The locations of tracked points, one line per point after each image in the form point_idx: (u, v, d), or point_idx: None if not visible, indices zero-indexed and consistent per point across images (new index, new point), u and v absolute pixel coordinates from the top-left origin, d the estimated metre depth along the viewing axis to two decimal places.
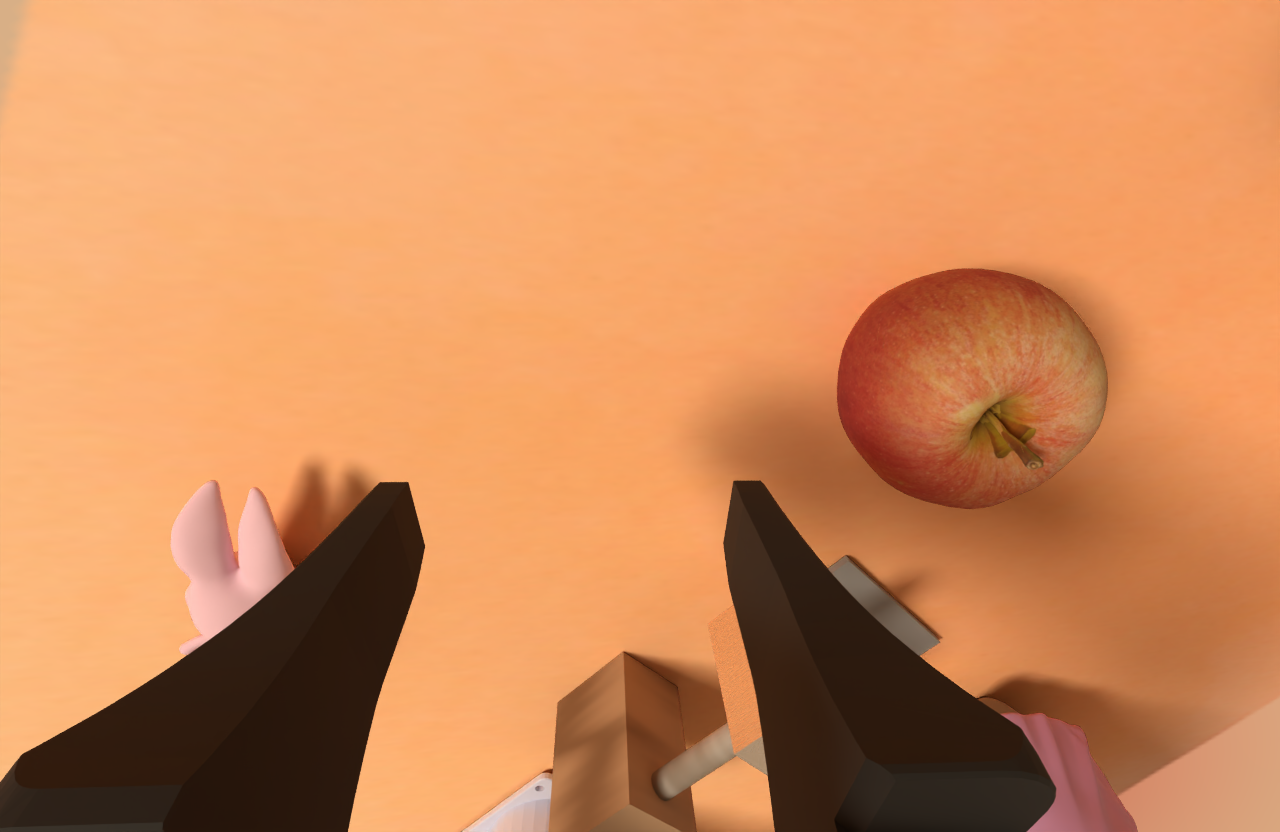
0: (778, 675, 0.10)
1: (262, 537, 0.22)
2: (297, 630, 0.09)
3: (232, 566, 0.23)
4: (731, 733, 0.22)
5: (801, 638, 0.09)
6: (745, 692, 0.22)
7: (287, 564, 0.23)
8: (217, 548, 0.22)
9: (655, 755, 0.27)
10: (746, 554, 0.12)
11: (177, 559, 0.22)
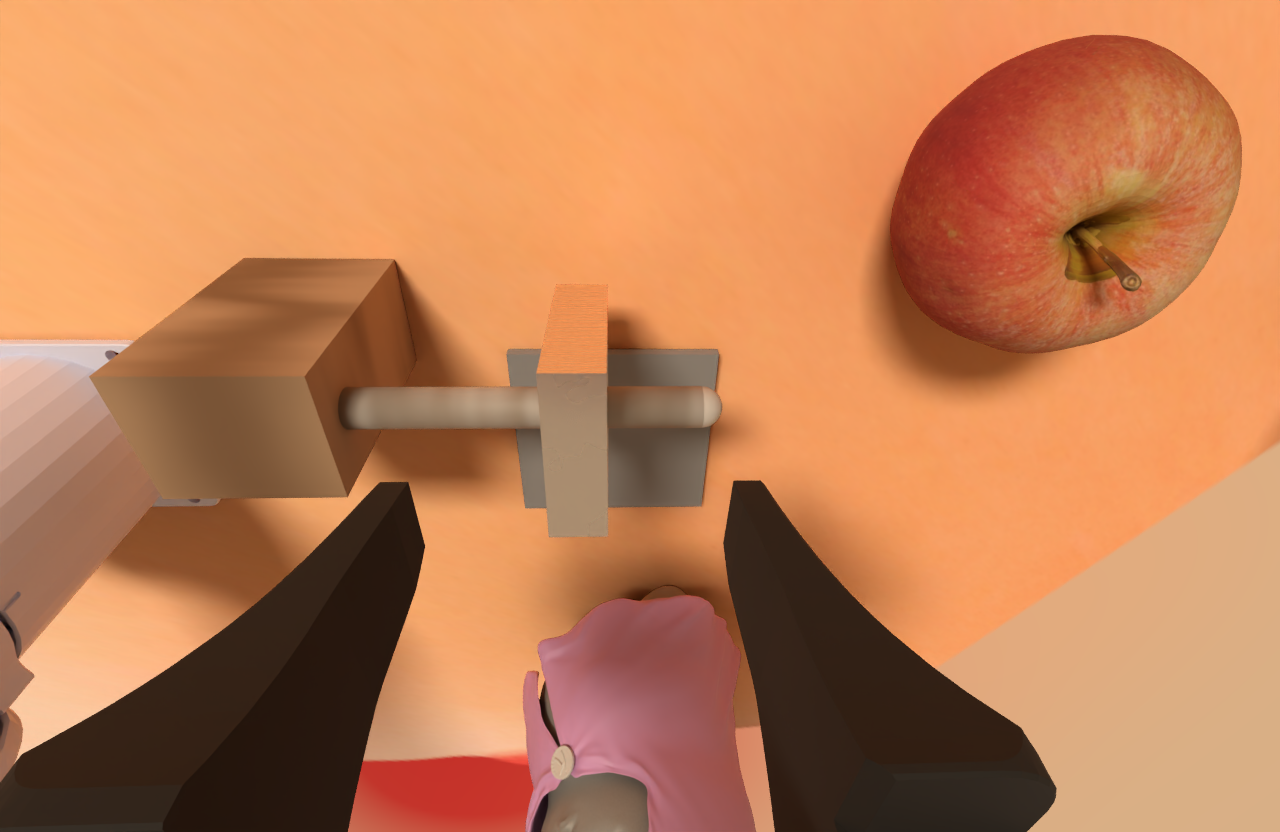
0: (778, 675, 0.10)
1: None
2: (297, 630, 0.09)
3: None
4: (540, 360, 0.14)
5: (801, 638, 0.09)
6: (585, 339, 0.15)
7: None
8: None
9: (361, 377, 0.18)
10: (746, 554, 0.12)
11: None
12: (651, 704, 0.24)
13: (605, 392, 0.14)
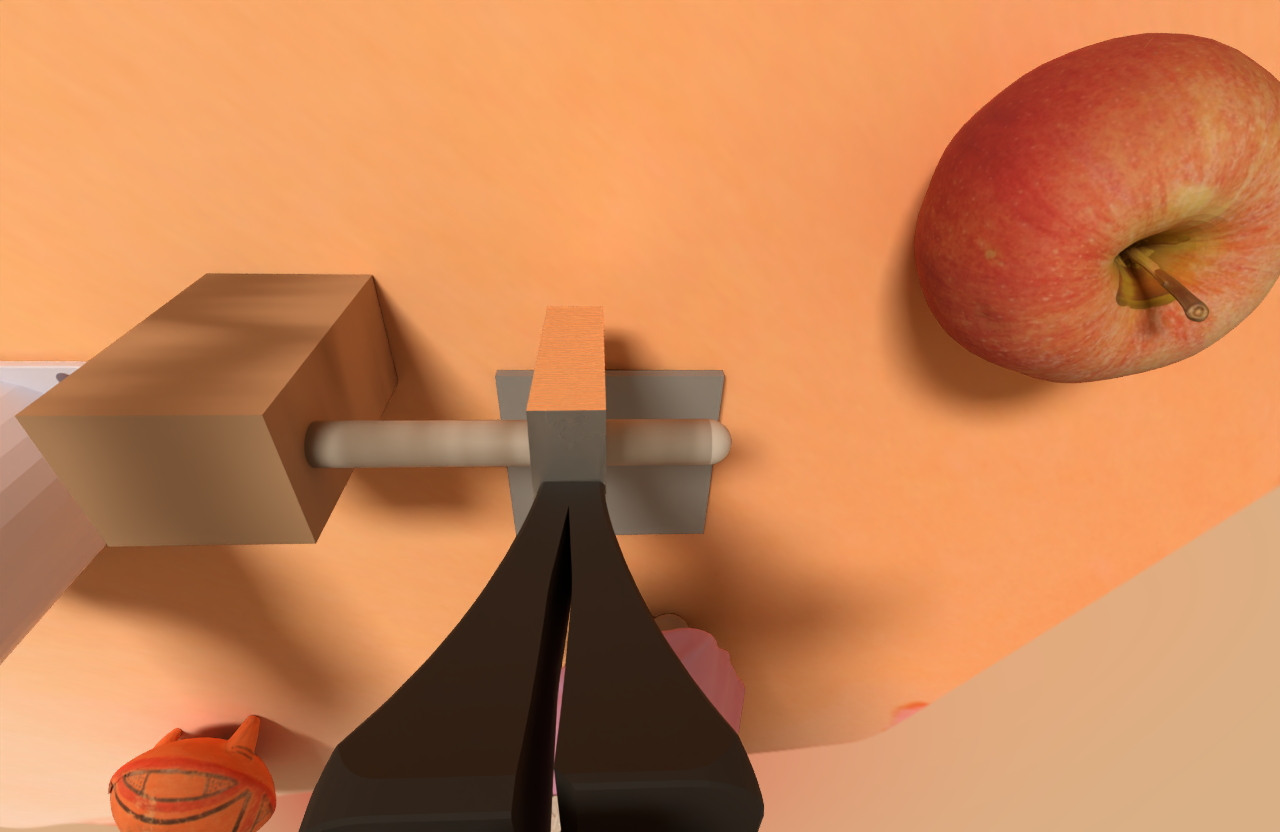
0: None
1: None
2: (530, 626, 0.09)
3: None
4: (530, 394, 0.13)
5: None
6: (580, 369, 0.14)
7: None
8: None
9: (332, 408, 0.16)
10: None
11: None
12: None
13: (604, 431, 0.12)
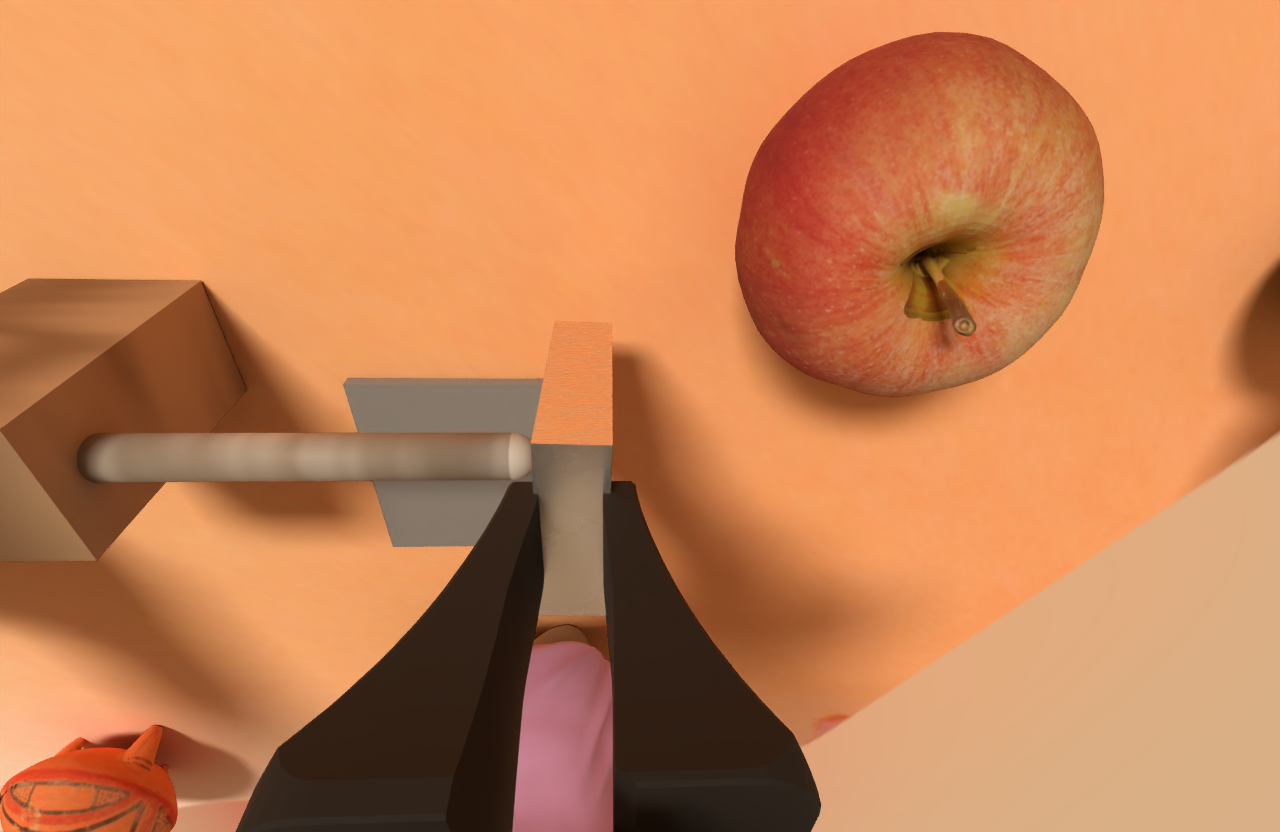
0: None
1: None
2: (486, 627, 0.09)
3: None
4: (535, 423, 0.12)
5: (613, 641, 0.09)
6: (587, 396, 0.13)
7: None
8: None
9: (127, 419, 0.16)
10: (605, 555, 0.12)
11: None
12: None
13: (610, 465, 0.12)
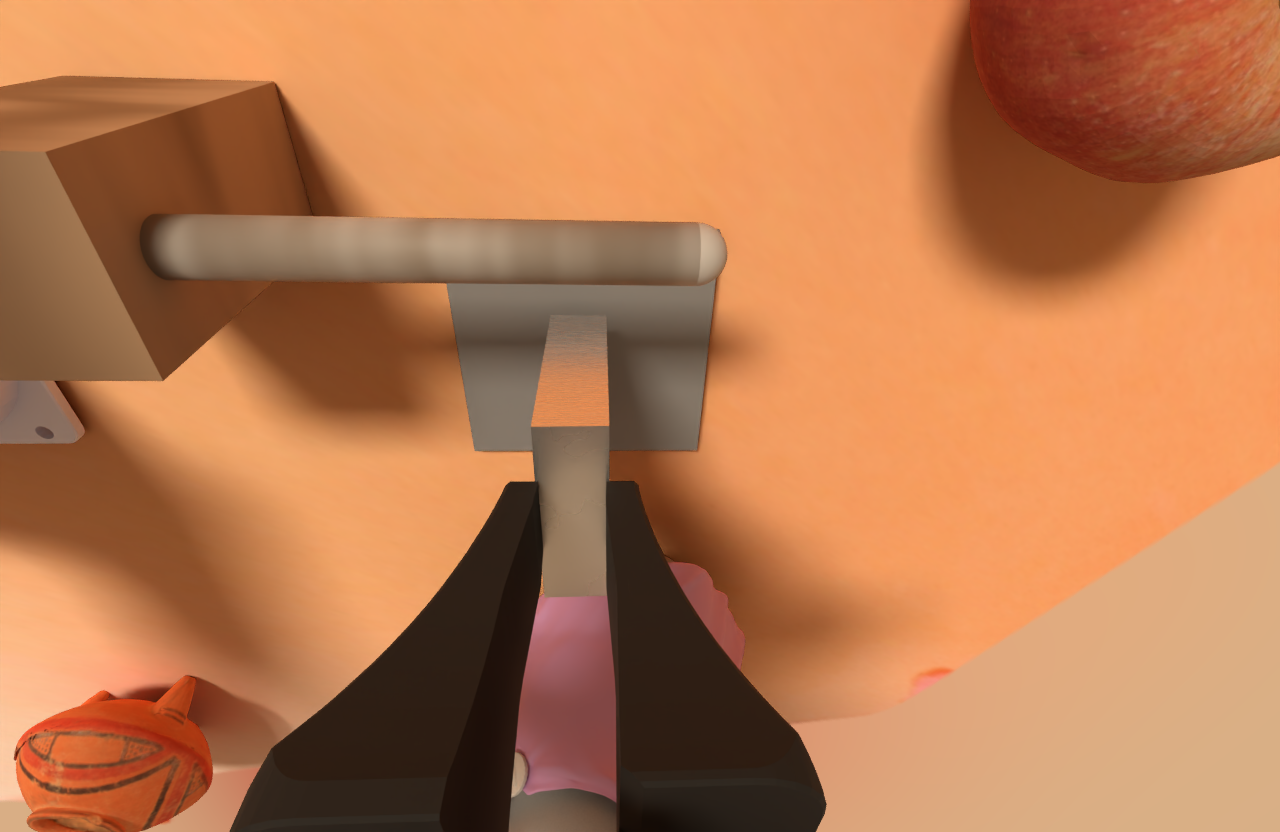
0: None
1: None
2: (482, 628, 0.09)
3: None
4: (535, 409, 0.13)
5: (617, 642, 0.09)
6: (584, 382, 0.14)
7: None
8: None
9: (197, 214, 0.12)
10: (608, 556, 0.12)
11: None
12: None
13: (607, 446, 0.13)
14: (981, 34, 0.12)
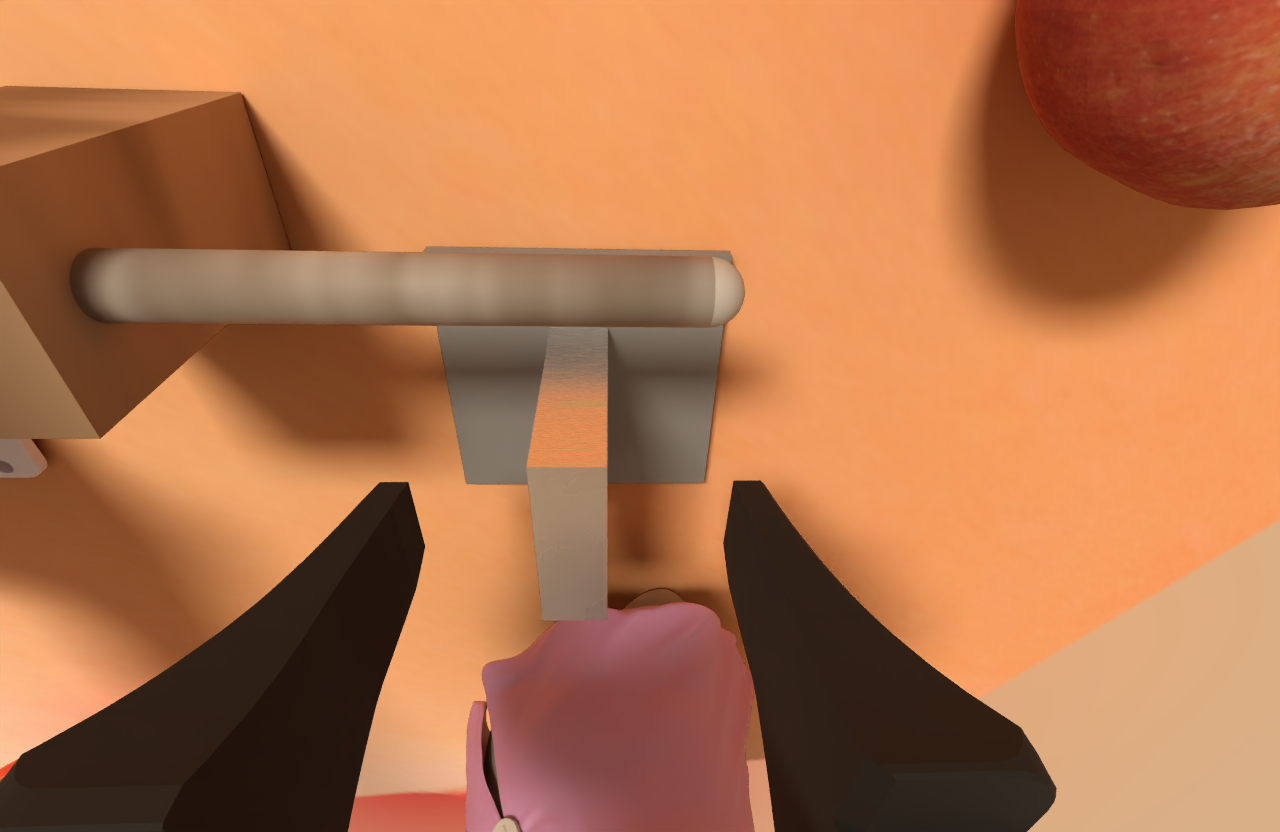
0: (778, 675, 0.10)
1: None
2: (297, 630, 0.09)
3: None
4: (530, 444, 0.13)
5: (801, 638, 0.09)
6: (582, 412, 0.14)
7: None
8: None
9: (144, 245, 0.11)
10: (746, 554, 0.12)
11: None
12: (633, 758, 0.17)
13: (605, 485, 0.12)
14: (1031, 41, 0.11)
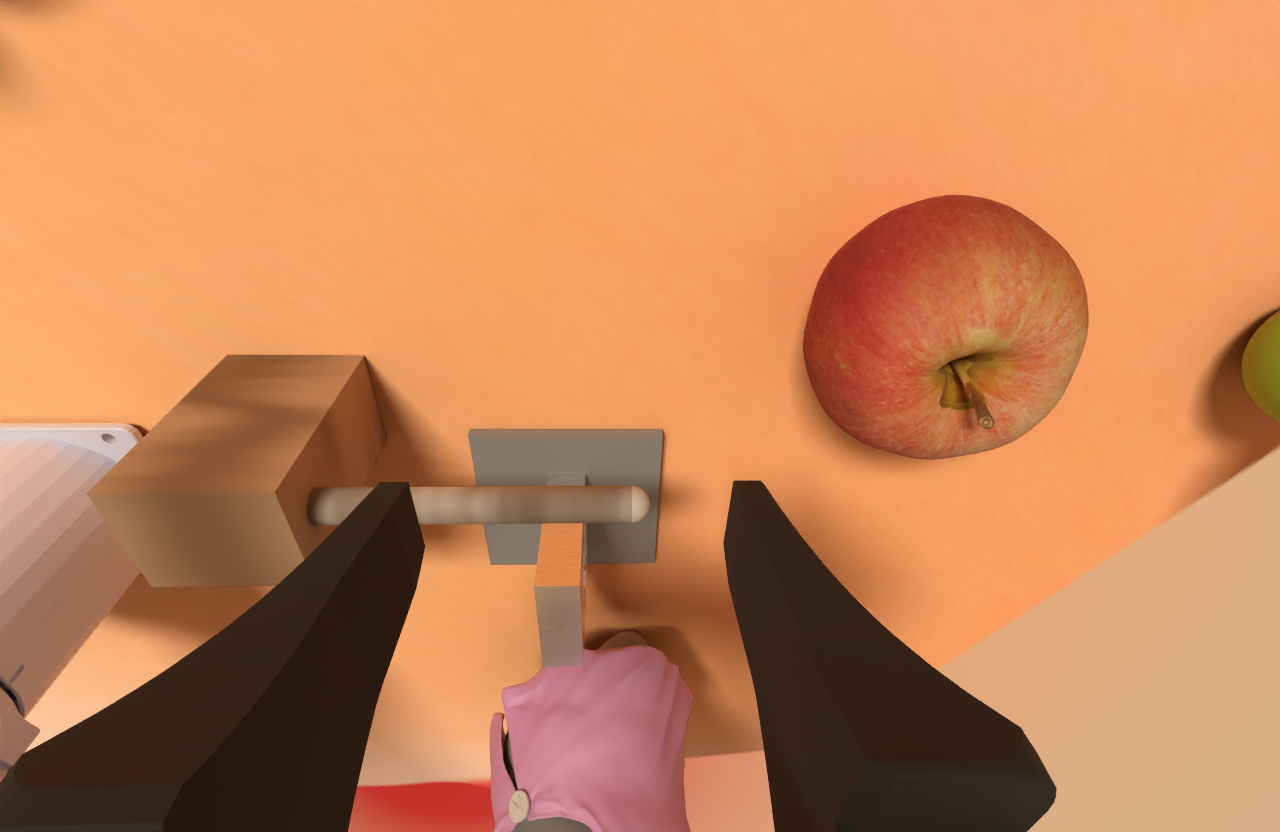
0: (778, 675, 0.10)
1: None
2: (297, 630, 0.09)
3: None
4: (536, 569, 0.22)
5: (801, 638, 0.09)
6: (567, 545, 0.23)
7: None
8: None
9: (329, 474, 0.20)
10: (746, 554, 0.12)
11: None
12: (602, 752, 0.26)
13: (579, 595, 0.22)
14: (806, 364, 0.20)
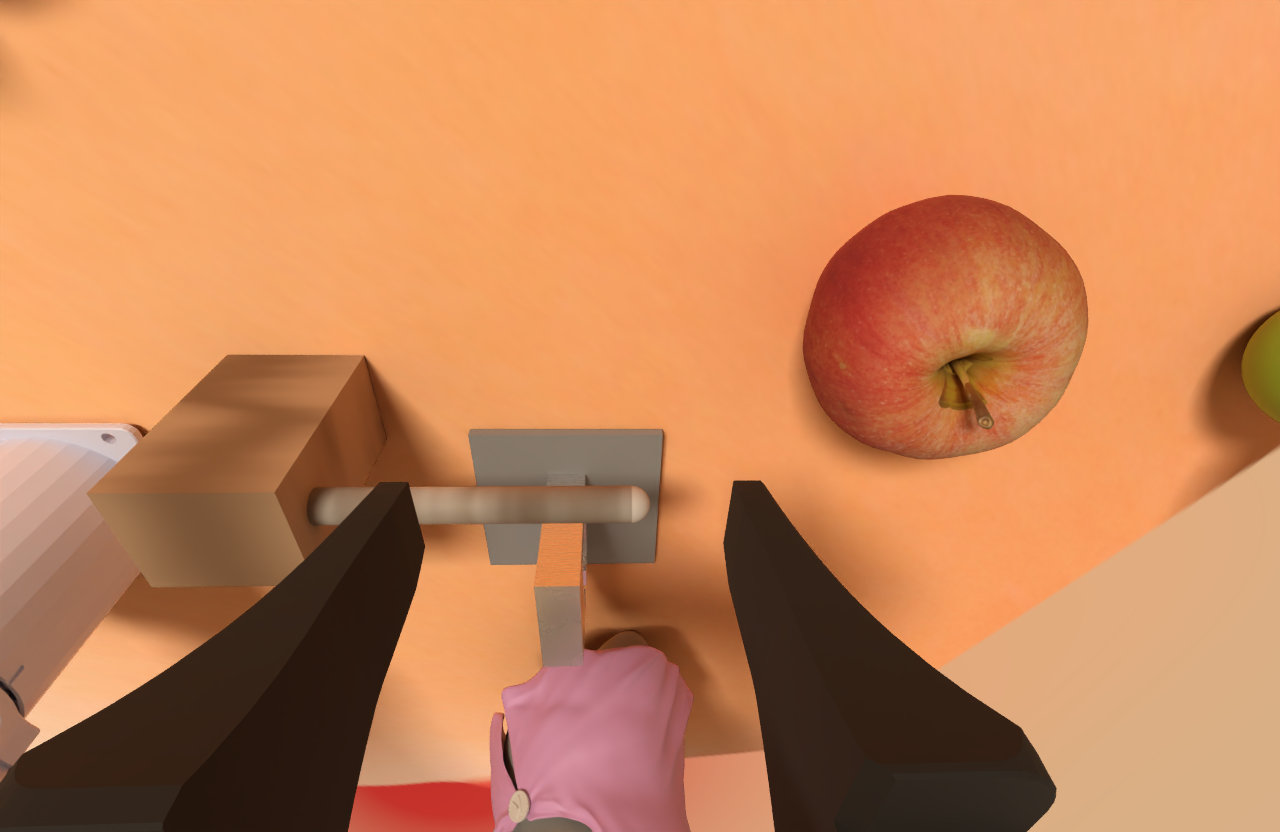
0: (778, 675, 0.10)
1: None
2: (297, 630, 0.09)
3: None
4: (536, 569, 0.22)
5: (801, 638, 0.09)
6: (567, 545, 0.23)
7: None
8: None
9: (329, 474, 0.20)
10: (746, 554, 0.12)
11: None
12: (602, 752, 0.26)
13: (579, 595, 0.22)
14: (806, 364, 0.20)
